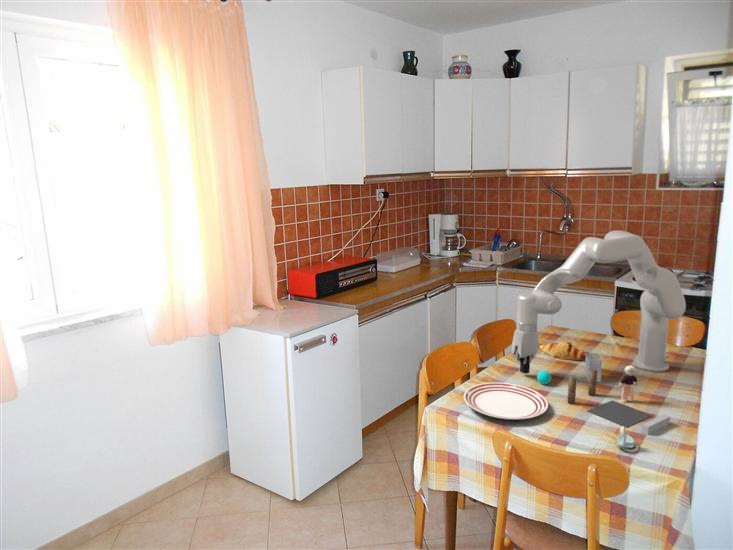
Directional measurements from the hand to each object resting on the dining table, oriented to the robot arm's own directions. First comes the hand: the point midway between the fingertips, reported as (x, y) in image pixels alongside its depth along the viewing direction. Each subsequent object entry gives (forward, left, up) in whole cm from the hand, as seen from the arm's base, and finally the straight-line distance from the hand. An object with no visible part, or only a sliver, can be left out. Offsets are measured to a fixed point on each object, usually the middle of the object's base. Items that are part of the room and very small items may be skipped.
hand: (524, 372), depth 209 cm
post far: (+6, +25, -2) cm, 26 cm away
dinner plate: (+26, +14, -2) cm, 30 cm away
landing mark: (0, +39, -2) cm, 39 cm away
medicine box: (-19, +16, -2) cm, 25 cm away
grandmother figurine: (-11, +35, -2) cm, 37 cm away
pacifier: (+18, +53, -2) cm, 56 cm away
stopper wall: (0, +51, -2) cm, 51 cm away
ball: (0, +9, +1) cm, 9 cm away
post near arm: (-6, +25, -2) cm, 26 cm away
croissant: (-31, -6, -2) cm, 31 cm away
